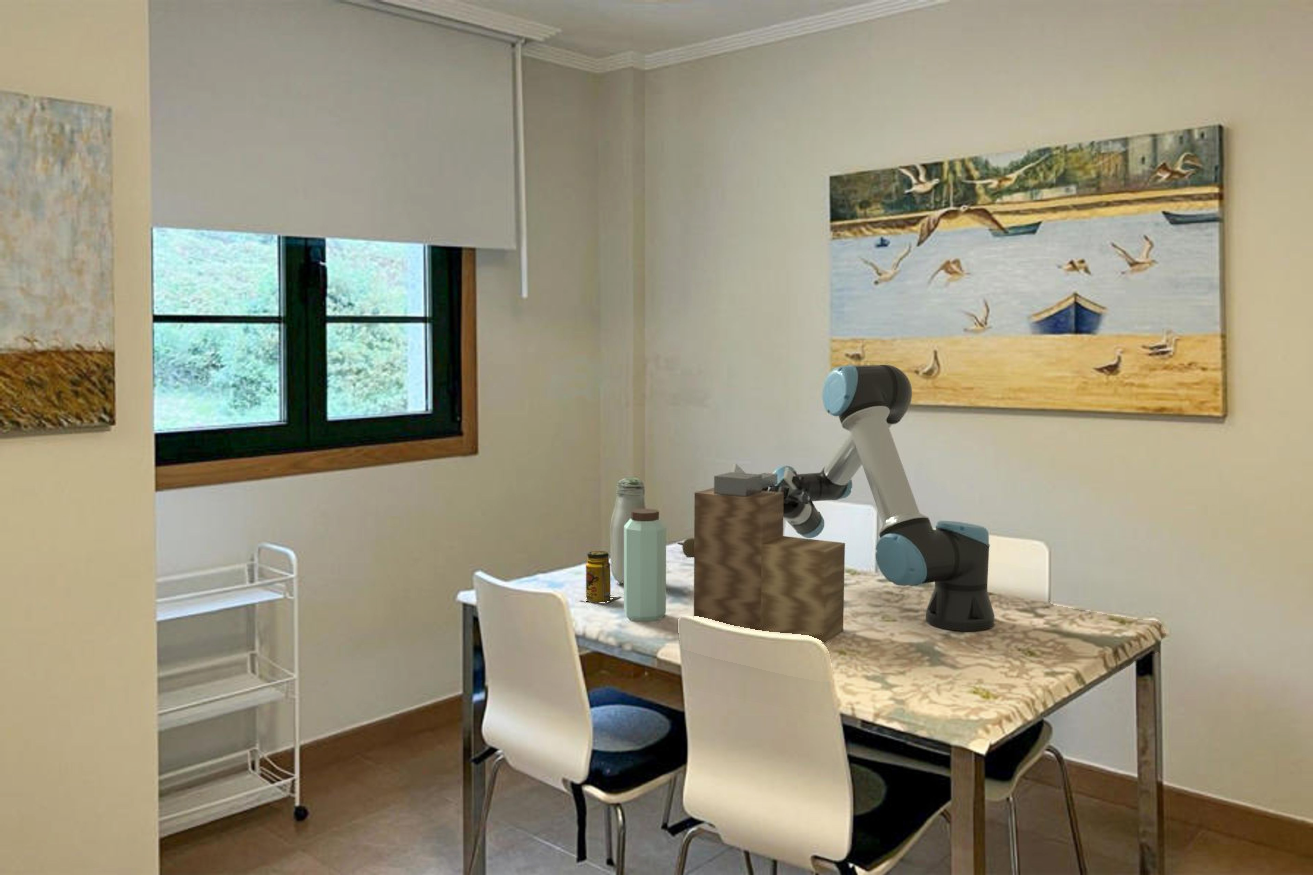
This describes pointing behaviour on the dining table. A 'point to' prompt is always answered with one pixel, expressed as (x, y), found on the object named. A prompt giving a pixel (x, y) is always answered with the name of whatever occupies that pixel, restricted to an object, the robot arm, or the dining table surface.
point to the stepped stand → (764, 568)
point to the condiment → (598, 577)
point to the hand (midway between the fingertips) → (759, 470)
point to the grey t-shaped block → (743, 483)
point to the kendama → (688, 547)
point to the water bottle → (644, 566)
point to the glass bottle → (623, 520)
